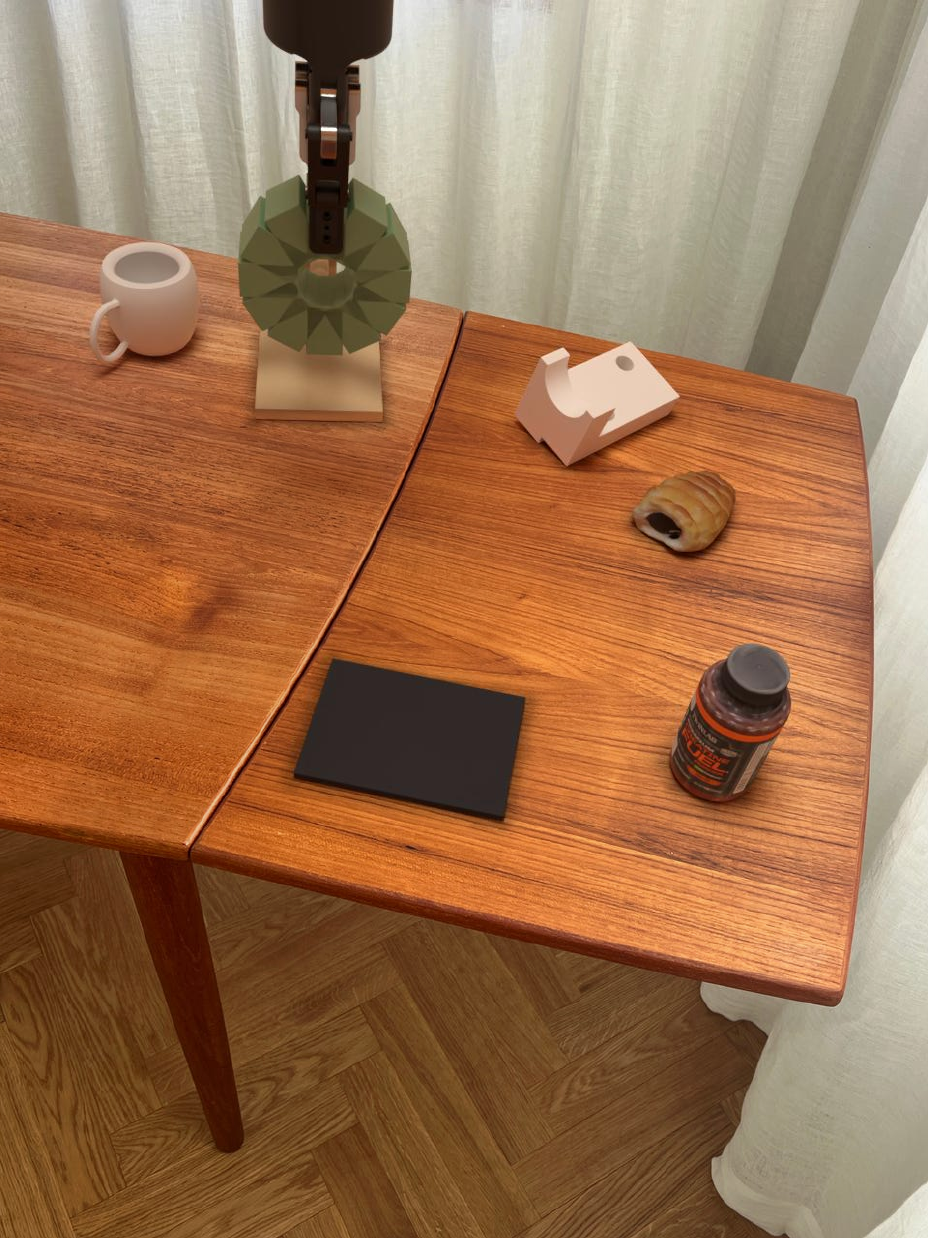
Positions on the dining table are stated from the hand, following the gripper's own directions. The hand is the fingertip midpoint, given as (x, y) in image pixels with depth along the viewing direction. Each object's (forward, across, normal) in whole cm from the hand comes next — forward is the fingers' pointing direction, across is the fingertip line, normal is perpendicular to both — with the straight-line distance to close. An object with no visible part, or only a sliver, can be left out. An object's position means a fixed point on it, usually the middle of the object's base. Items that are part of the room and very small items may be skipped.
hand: (325, 231), depth 75 cm
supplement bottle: (+23, +29, +26) cm, 45 cm away
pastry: (+23, +4, +30) cm, 38 cm away
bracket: (+23, -9, +25) cm, 35 cm away
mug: (+23, -18, -16) cm, 33 cm away
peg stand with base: (+23, -14, 0) cm, 27 cm away
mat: (+23, +26, +6) cm, 35 cm away
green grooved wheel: (+3, 0, 0) cm, 3 cm away
